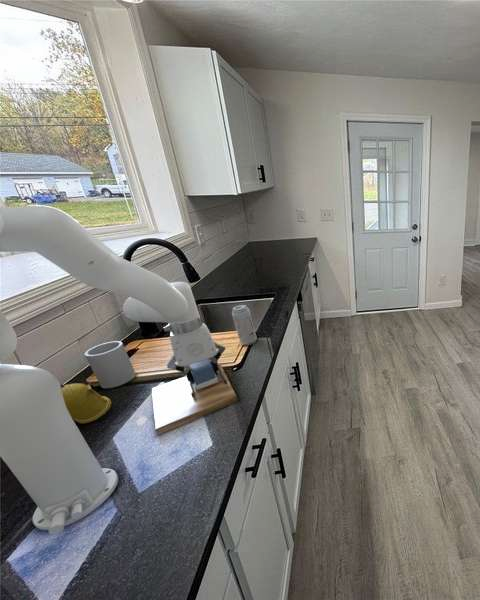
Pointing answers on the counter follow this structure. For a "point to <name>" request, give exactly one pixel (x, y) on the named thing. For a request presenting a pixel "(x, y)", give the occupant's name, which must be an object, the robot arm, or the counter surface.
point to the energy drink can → (244, 325)
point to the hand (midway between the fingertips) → (204, 376)
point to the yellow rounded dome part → (84, 402)
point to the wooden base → (189, 401)
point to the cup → (110, 364)
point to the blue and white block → (203, 374)
